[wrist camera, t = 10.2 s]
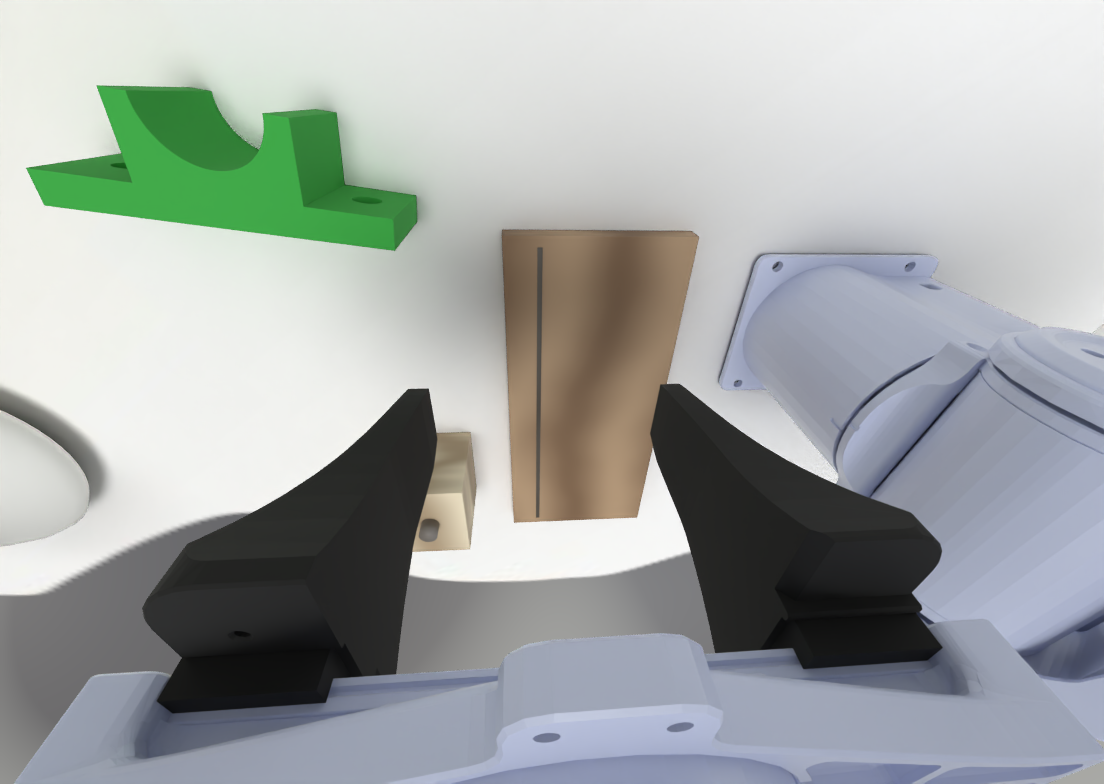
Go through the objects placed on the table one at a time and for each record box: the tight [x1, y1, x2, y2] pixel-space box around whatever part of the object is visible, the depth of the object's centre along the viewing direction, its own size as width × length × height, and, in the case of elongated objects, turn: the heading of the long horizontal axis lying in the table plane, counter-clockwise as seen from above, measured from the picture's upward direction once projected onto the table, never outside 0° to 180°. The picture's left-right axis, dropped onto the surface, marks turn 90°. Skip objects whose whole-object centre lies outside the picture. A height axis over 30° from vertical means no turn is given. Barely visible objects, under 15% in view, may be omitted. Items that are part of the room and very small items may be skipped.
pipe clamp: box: [26, 85, 417, 251], centre depth 16 cm, size 11×4×5 cm, turn 81°
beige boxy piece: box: [412, 432, 476, 552], centre depth 25 cm, size 4×5×6 cm
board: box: [502, 230, 699, 523], centre depth 25 cm, size 9×20×1 cm, turn 179°
